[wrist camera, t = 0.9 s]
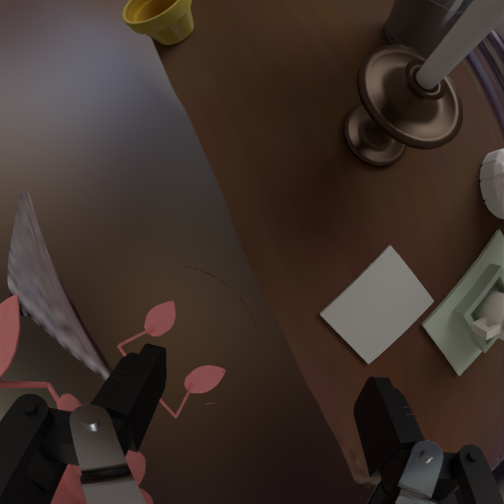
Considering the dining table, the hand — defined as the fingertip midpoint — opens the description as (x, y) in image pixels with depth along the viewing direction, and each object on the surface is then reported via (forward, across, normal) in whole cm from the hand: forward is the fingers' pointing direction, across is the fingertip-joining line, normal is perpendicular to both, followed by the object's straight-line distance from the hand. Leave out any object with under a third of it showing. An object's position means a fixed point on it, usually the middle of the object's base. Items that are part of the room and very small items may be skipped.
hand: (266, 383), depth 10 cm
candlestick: (+29, -12, -15) cm, 35 cm away
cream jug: (+22, -34, +5) cm, 41 cm away
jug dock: (+23, -36, +4) cm, 42 cm away
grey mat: (+24, -17, +7) cm, 30 cm away
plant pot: (+36, +20, -30) cm, 51 cm away
